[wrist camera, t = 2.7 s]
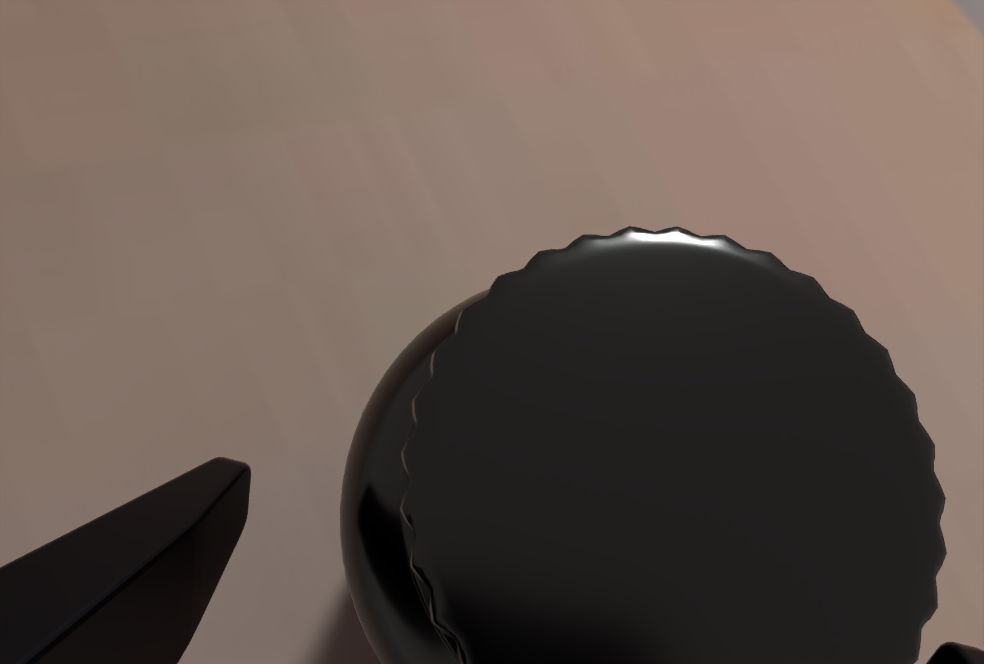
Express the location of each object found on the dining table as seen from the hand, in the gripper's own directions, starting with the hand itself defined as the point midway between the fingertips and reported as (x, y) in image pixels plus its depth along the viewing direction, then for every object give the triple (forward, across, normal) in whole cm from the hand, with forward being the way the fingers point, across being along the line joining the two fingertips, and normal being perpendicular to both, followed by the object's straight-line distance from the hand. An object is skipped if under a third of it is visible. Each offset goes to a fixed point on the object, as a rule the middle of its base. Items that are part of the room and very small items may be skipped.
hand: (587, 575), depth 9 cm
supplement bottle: (+7, 0, +6) cm, 9 cm away
